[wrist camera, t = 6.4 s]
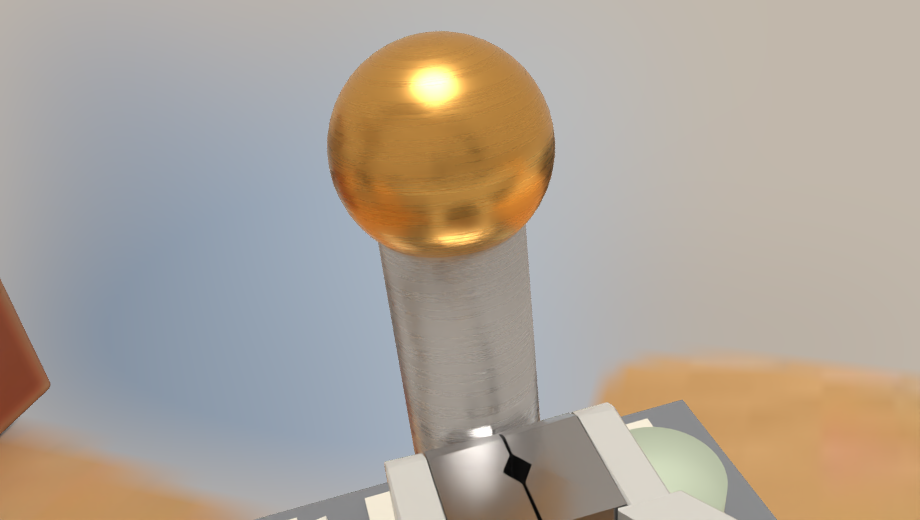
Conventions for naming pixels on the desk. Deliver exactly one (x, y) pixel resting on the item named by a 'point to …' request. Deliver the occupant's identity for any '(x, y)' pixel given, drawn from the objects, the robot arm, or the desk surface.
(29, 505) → the desk surface
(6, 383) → the orange box
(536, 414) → the lever
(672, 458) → the button
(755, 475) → the desk surface
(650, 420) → the console
